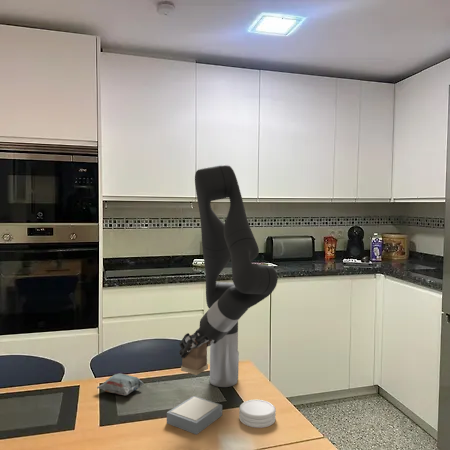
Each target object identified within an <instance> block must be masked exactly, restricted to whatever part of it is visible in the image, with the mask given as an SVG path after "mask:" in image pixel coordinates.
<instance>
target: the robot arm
mask: <svg viewBox="0 0 450 450" xmlns="http://www.w3.org/2000/svg"><path fill="white" fill-rule="evenodd" d="M238 182H239V181H238V178H237V175H236V174H235V171H234V169H233V168H232V166H230V165H229V164H219V165H213V166H207V167H204V168H198V169H197V170H196V171H195V174H194V186H195V192H196V198H197V205H198V212H199V219H200V230H201V245H202V247H201V248H202V255H203V262H204V272H205V273H204V274H205V299H206V300H205V301H206V304H207V305H206V306H207V308H208V309H207V311H206V312H205V313H204V314H203V316H202V317H201V319H199V328H197V329H196V330H195V331H194V333H192V334H190V333H188V332H187V333H185V334H184V336H183V337H182V339H181V341H180V342H179V348H180V350H179V352H178V354H179V356H180V357H181V360H182V359H183V358H185V357H186V356H187V355H188V354H189V353H190V352H191V351H192V350H193V349H194V348H198V347H200V346H201V345H202V344H204V343H206V342H207V348H208V347H209V384H211V385H213V386H214V387H219V388H228V387H229V388H230V387H234V386H236V385H237V384H238V380H239V362H240V361H239V359H240V358H239V354H240V352H239V347H238V346H239V320H240V319H241V317H243V316H244V315H245V313H246V312H247V311H248V310H249V309H250V308H252V307H254V306H255V305H257V304H258V303H260V302H262V301H264V300H265V299H266V298H268V297H269V296H270V295H271V294H272V293H273V292H274V290H275V289H276V287H277V284H278V273H277V271H276V269H275V268H274V267H272V266H271V265H267V264H263V263H262V264H259V263H253V262H252V261H253V260H255V259H256V258H257V257H258V255H259V252H260V250H259V246H258V244H257V241H256V238H255V235H254V234H253V231H252V228H251V226H250V224H249V220H248V217H247V214H246V213H247V212H246V209H245V205H244V201H243V196H242V193H241V190H240V186H239V183H238ZM227 198H228V199H229V203H230V204H229V209H228V213H227V216H226V218H225V222H224V221H222V220H221V219H220V218H219V217H218V215H217V214H216V213H215V211H214V210H213V208H212V206H211V202H213V201H218V200H223V199H227ZM230 261H231V262H230ZM229 262H230V264H231V277H232V282H225V281H223V282H221V281H217V280H218V277H219V276H220V274H221V273H222V271H223V270H224V269H225V268H226V267H227V265H228V264H229ZM190 335H191V336H190ZM194 339H196V341H197V343H198V344H196V342H195V340H194ZM191 344H192V347H190V346H191Z"/></svg>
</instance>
